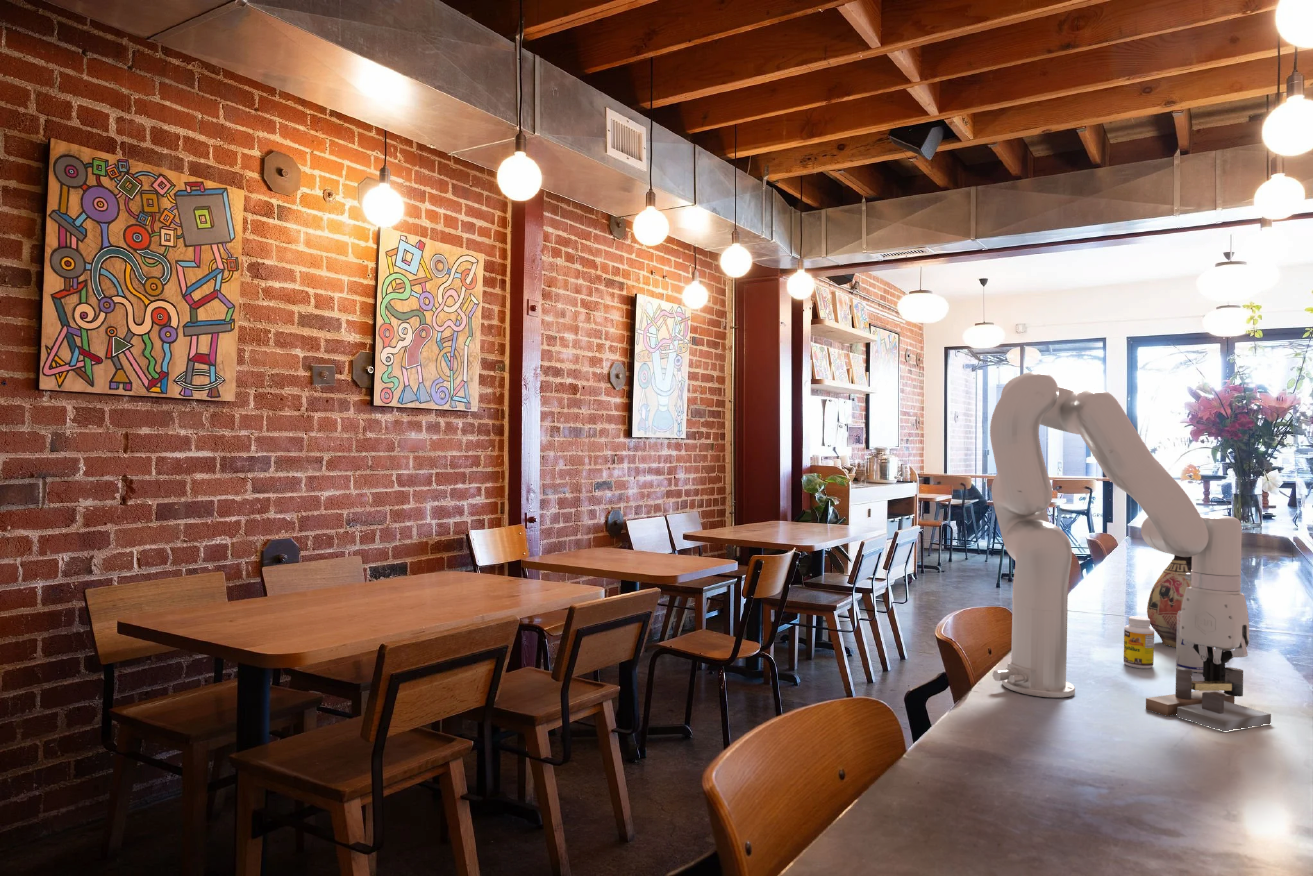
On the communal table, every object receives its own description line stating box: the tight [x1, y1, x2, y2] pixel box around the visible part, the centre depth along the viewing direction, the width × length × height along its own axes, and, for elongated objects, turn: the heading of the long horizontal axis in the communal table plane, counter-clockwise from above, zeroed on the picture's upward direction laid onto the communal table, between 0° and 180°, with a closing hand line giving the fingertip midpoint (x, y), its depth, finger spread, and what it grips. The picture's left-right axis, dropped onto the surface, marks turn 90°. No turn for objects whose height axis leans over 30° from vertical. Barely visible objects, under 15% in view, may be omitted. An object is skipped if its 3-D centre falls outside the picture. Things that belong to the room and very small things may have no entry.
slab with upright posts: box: [1145, 667, 1272, 731], centre depth 146 cm, size 18×13×7 cm
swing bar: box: [1192, 666, 1244, 697], centre depth 150 cm, size 9×3×4 cm, turn 95°
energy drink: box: [1175, 611, 1203, 674], centre depth 177 cm, size 5×5×12 cm
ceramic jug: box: [1146, 555, 1192, 648], centre depth 199 cm, size 17×15×30 cm
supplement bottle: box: [1123, 615, 1155, 670], centre depth 179 cm, size 6×6×10 cm
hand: (1213, 683), depth 154 cm, fingers closed
